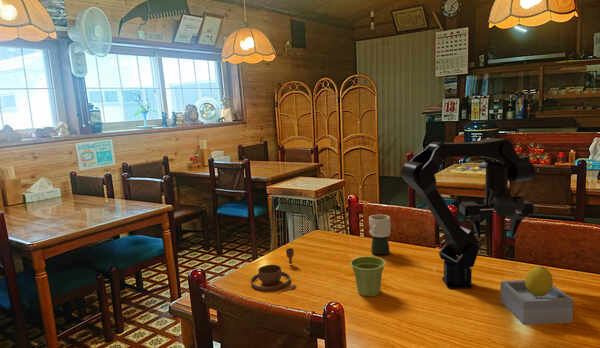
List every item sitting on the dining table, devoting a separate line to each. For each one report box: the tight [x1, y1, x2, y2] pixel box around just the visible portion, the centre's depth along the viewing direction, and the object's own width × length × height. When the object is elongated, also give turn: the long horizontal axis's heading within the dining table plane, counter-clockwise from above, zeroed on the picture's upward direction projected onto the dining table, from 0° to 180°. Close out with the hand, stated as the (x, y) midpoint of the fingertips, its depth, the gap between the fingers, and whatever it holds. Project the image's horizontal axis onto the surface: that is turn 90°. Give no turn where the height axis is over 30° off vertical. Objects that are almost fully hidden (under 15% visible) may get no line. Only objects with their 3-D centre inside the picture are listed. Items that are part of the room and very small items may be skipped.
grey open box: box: [499, 279, 574, 325], centre depth 97 cm, size 11×11×6 cm
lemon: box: [524, 265, 554, 297], centre depth 96 cm, size 6×6×8 cm
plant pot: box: [350, 255, 386, 297], centre depth 112 cm, size 9×9×9 cm
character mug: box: [368, 214, 391, 255], centre depth 141 cm, size 11×7×13 cm, turn 148°
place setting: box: [250, 247, 297, 295], centre depth 125 cm, size 18×20×6 cm
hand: (495, 237), depth 116 cm, fingers open, 9 cm apart
